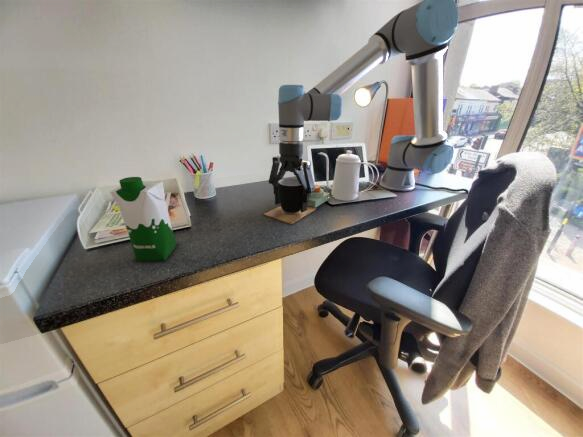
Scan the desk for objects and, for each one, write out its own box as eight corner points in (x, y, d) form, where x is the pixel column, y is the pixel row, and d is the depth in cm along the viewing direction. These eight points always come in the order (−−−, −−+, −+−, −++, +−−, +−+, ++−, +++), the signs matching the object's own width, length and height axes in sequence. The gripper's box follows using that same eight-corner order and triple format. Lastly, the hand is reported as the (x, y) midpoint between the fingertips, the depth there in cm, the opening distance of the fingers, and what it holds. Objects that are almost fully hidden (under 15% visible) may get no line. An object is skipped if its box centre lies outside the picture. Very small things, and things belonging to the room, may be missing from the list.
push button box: (329, 199, 95) (330, 188, 93) (315, 208, 87) (315, 196, 85) (300, 192, 103) (301, 182, 101) (285, 199, 95) (285, 189, 93)
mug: (308, 212, 80) (310, 183, 76) (284, 216, 77) (284, 187, 73) (294, 200, 90) (294, 174, 86) (272, 203, 87) (271, 177, 82)
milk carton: (130, 263, 56) (101, 182, 48) (149, 243, 64) (127, 171, 56) (167, 262, 57) (145, 182, 48) (182, 242, 65) (165, 171, 56)
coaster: (316, 209, 86) (316, 208, 86) (291, 224, 75) (291, 223, 75) (289, 202, 92) (289, 201, 92) (263, 214, 82) (263, 213, 81)
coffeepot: (320, 188, 108) (322, 145, 100) (376, 197, 97) (384, 151, 89) (310, 195, 99) (312, 149, 91) (371, 206, 89) (379, 156, 81)
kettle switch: (322, 191, 92) (322, 186, 91) (316, 194, 89) (316, 188, 88) (312, 188, 94) (312, 183, 94) (306, 191, 91) (306, 186, 90)
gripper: (255, 139, 77) (259, 202, 86) (316, 147, 64) (312, 219, 74) (271, 137, 82) (272, 196, 92) (329, 143, 70) (324, 211, 80)
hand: (290, 207), depth 83 cm, fingers closed on mug, 10 cm apart
